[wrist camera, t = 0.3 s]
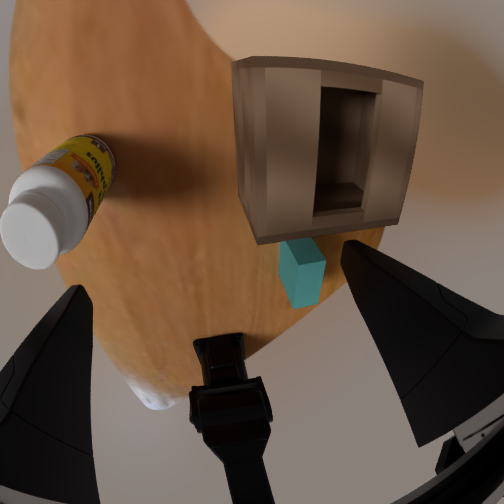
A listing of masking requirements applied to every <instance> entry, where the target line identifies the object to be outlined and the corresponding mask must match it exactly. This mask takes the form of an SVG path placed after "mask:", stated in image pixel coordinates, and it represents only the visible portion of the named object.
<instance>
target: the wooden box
mask: <svg viewBox="0 0 504 504" xmlns="http://www.w3.org/2000/svg"><path fill="white" fill-rule="evenodd" d="M231 67H232V88H233V107H234V126H235V144H236V162H237V179H238V195H239V198H240V201H241V204H242V206H243V209H244V211H245V214H246V216H247V219H248V222H249V224H250V227H251V229H252V232H253V235H254V237H255V240H256V243H257V245H263V244H269V243H276V242H282V241H289V240H296V239H302V238H309V237H316V236H322V235H329V234H336V233H343V232H349V231H356V230H363V229H370V228H377V227H384V226H391V225H397V224H398V222H399V218H400V214H401V211H402V207H403V203H404V199H405V195H406V191H407V187H408V183H409V178H410V174H411V169H412V164H413V159H414V154H415V148H416V142H417V136H418V129H419V122H420V115H421V105H422V96H423V84H424V82H423V81H421V80H418V79H415V78H412V77H408V76H404V75H401V74H397V73H393V72H389V71H385V70H380V69H376V68H371V67H366V66H361V65H356V64H350V63H343V62H336V61H329V60H321V59H310V58H298V57H277V56H275V57H274V56H251V57H248V58H244V59H241V60H237V61H234V62H231Z"/></svg>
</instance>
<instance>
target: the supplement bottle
mask: <svg viewBox="0 0 504 504" xmlns="http://www.w3.org/2000/svg"><path fill="white" fill-rule="evenodd" d="M114 176H115V161H114V157H113V155H112V152H111V151H110V149H109V147H108V146H107V145H106V144H105V143H104V142H103V141H102V140H100V139H99V138H97V137H94V136H91V135H78V136H75V137H72V138H70V139H68V140H67V141H65V142H64V143H62V144H61V145H59V146H58V147H56V148H55V149H54V150H52V151H51V152H49V153H48V154H47V155H45V156H44V157H43V158H41V159H40V160H39V161H37V162H36V163H35V164H34V165H32V166H31V167H30V168H29V169H27V170H26V171H25V172H24V173H23V174H22V175H21V176H20V177H19V178H18V179H17V180H16V182H15V183H14V185H13V187H12V190H11V192H10V196H9V206H8V207H7V208H6V209H5V211H4V212H3V214H2V217H1V220H0V233H1V238H2V241H3V243H4V245H5V247H6V249H7V251H8V252H9V253H10V255H11V256H12V257H13V258H14V259H15V260H16V261H18V262H19V263H20V264H22V265H24V266H26V267H28V268H32V269H45V268H48V267H50V266H51V265H53V264H54V263H55V261H56V260H57V258H58V256H59V255H62V254H65V253H67V252H69V251H71V250H72V249H74V248H75V247H76V246H77V245H78V244H79V243H80V241H81V240H82V238H83V236H84V234H85V233H86V231H87V228H88V226H89V224H90V222H91V220H92V219H93V217H94V215H95V213H96V211H97V209H98V208H99V206H100V204H101V202H102V200H103V199H104V197H105V195H106V193H107V192H108V190H109V188H110V187H111V184H112V182H113V179H114Z"/></svg>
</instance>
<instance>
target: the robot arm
mask: <svg viewBox="0 0 504 504" xmlns="http://www.w3.org/2000/svg"><path fill="white" fill-rule="evenodd" d="M340 263H341V267H342V270H343V272H344V275H345V277H346V280H347V282H348V285H349V287H350V289H351V292H352V295H353V298H354V300H355V302H356V304H357V307H358V309H359V310H360V313H361V315H362V317H363V319H364V321H365V323H366V325H367V327H368V329H369V331H370V333H371V335H372V337H373V339H374V341H375V343H376V345H377V348H378V350H379V352H380V354H381V356H382V358H383V361H384V363H385V365H386V367H387V370H388V372H389V374H390V377H391V379H392V381H393V384H394V386H395V388H396V391H397V393H398V396H399V398H400V400H401V403H402V406H403V408H404V411H405V413H406V416H407V418H408V421H409V424H410V426H411V429H412V432H413V434H414V437H415V440H416V443H417V445H418V447H422V446H424V445H426V444H427V443H430V442H431V441H433V440H435V439H437V438H439V437H440V436H442V435H444V434H446V433H448V432H449V431H451V430H453V432H454V435H453V436H452V437H450V438H449V439H448V440H447V441H445V442H444V443H443V446H442V450H441V453H440V456H439V459H438V462H437V465H436V468H435V471H436V474H437V476H435V477H434V478H432V479H431V480H430V481H428V482H427V483H425V484H423V485H422V486H420V487H419V488H417V489H416V490H414V491H412V492H411V493H409V494H408V495H405V496H404V497H402V498H400V499H398V500H397V501H395V502H393V503H391V504H496V503H497V502H498V501H499V500H500V499H501V498H502V497H504V315H499V314H496V313H494V312H491V311H490V310H488V309H486V308H484V307H482V306H480V305H478V304H476V303H474V302H472V301H470V300H468V299H466V298H464V297H462V296H461V295H459V294H457V293H455V292H453V291H451V290H450V289H448V288H446V287H444V286H442V285H441V284H439V283H436V282H435V281H433V280H432V279H430V278H428V277H426V276H425V275H423V274H421V273H419V272H417V271H415V270H414V269H412V268H410V267H408V266H406V265H404V264H402V263H401V262H399V261H397V260H395V259H393V258H391V257H389V256H387V255H385V254H383V253H382V252H379V251H378V250H376V249H374V248H372V247H370V246H368V245H366V244H364V243H362V242H360V241H358V240H349V241H345V242H344V245H343V249H342V254H341V260H340ZM193 346H194V349H195V351H196V354H197V356H198V359H199V361H200V364H201V368H202V375H203V383H204V386H192V391H190V392H189V399H190V414H189V416H190V417H189V419H190V422H191V423H192V424H194V425H195V428H196V429H197V432H198V433H202V435H203V440H204V442H205V444H206V445H207V446H208V447H209V448H210V449H211V451H212V452H213V453H214V454H215V455H216V456H217V457H218V458H219V459H220V460H221V461H222V462H223V464H224V468H225V472H226V477H227V481H228V486H229V490H230V494H231V498H232V502H233V504H275V502H274V498H273V495H272V491H271V488H270V484H269V481H268V477H267V473H266V470H265V466H264V463H263V458H262V456H263V453H264V450H265V447H266V445H267V442H268V439H269V436H270V433H271V428H270V424H269V423H270V422H272V421H273V415H272V409H271V405H270V402H269V398H268V396H267V393H266V390H265V387H264V384H263V382H262V379H261V377H260V376H259V377H256V378H251V379H248V375H247V371H246V367H245V362H244V359H245V351H244V341H243V335H242V334H241V333H238V334H232V335H226V336H220V337H214V338H207V339H201V340H195V341H193ZM92 348H93V304H92V301H91V299H90V297H89V295H88V294H87V292H86V290H85V288H84V287H83V286H82V285H80V284H79V285H73V286H71V287H70V288H69V289H68V290H67V291H66V292H65V293H64V294H63V295H62V296H61V297H60V298H59V300H58V301H57V302H56V303H55V304H54V305H53V306H52V307H51V309H50V310H49V311H48V312H47V313H46V314H45V315H44V317H43V318H42V319H41V320H40V321H39V323H38V324H37V325H36V326H35V327H34V328H33V330H32V331H31V332H30V333H29V335H28V336H27V337H26V338H25V340H24V341H23V342H22V343H21V345H20V346H19V347H18V349H17V350H16V351H15V353H14V355H13V356H12V357H11V358H10V359H9V361H8V362H7V363H6V365H5V366H4V367H3V369H2V370H1V372H0V504H100V499H99V493H98V488H97V481H96V474H95V467H94V457H93V449H92V435H91V408H90V407H91V405H90V396H91V395H90V392H91V389H90V388H91V364H92Z"/></svg>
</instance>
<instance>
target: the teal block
mask: <svg viewBox="0 0 504 504" xmlns="http://www.w3.org/2000/svg"><path fill="white" fill-rule="evenodd" d="M325 265H326V259H325V257H324V256H323V254H322V253H321V251H320V250H319V248H318V247H317V245H316V244H315V242H314V241H313V239H312V238H311V237H309V238H302V239H296V240H289V241H282V242H280V257H279V276H280V279H281V281H282V283H283V286H284V288H285V291H286V293H287V295H288V298H289V300H290V302H291V305H292V307H293V309H296V308H301V307H306V306H310V305H314V304H318V300H319V295H320V290H321V285H322V280H323V275H324V270H325Z"/></svg>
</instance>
